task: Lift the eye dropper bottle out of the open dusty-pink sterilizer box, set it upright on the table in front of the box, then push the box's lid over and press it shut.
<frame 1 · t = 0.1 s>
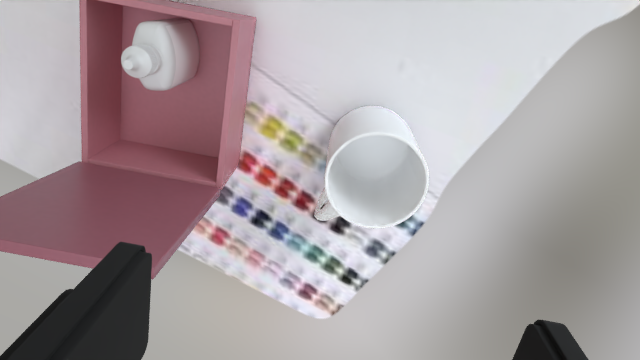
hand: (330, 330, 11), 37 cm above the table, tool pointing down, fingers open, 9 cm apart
eye dropper bottle: (183, 48, 45), resting on sterilizer
mug: (358, 154, 48), on the table
sterilizer lid: (108, 207, 34), point 15 cm above the table, hinge at 85.0°
sterilizer: (182, 83, 46), on the table
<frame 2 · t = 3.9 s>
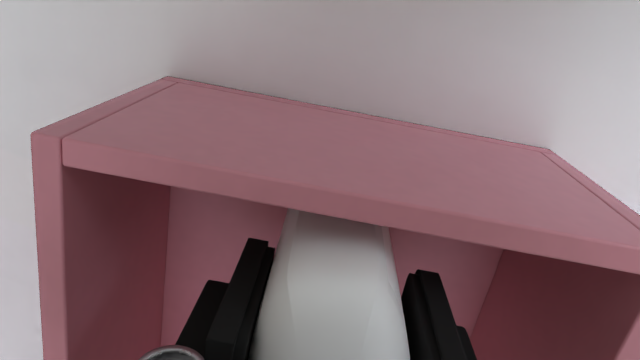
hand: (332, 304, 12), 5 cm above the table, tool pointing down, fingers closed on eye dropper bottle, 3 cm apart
eye dropper bottle: (336, 225, 17), resting on sterilizer, touching gripper
sterilizer: (319, 297, 18), on the table
when the fingers open (4 cm above the table, at t = 11.0 s): eye dropper bottle stays where it is, on the table.
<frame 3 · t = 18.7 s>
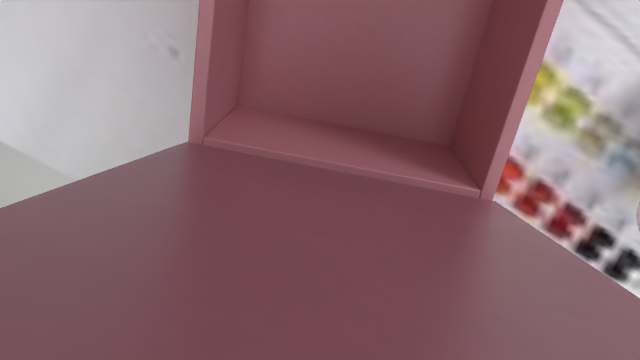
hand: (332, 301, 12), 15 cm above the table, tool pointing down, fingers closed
sterilizer lid: (346, 242, 11), point 15 cm above the table, hinge at 79.6°, touching gripper
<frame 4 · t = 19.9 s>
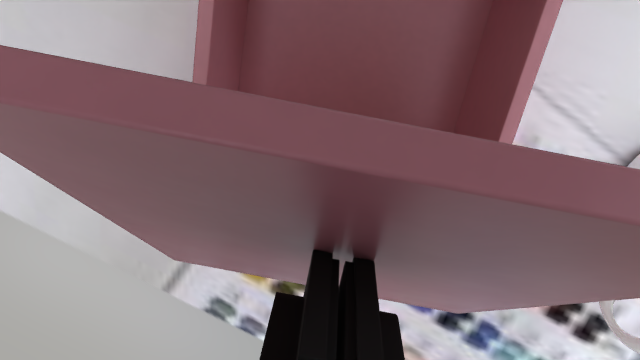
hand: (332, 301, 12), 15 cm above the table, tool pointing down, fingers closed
sterilizer lid: (337, 250, 13), point 14 cm above the table, hinge at 50.1°, touching gripper
sterilizer: (351, 85, 25), on the table
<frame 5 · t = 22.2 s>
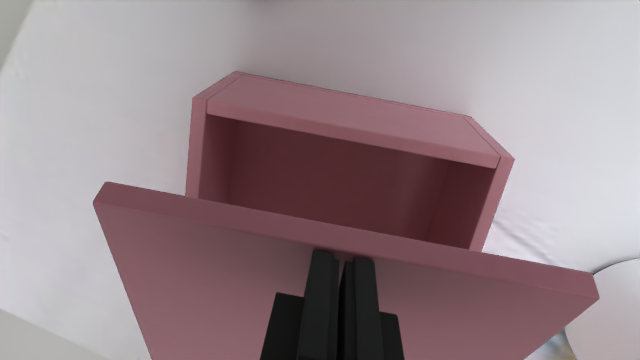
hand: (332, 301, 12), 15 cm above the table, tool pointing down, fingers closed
mug: (604, 324, 30), on the table
sterilizer lid: (312, 353, 18), point 11 cm above the table, hinge at 25.9°, touching gripper
sterilizer: (327, 216, 28), on the table
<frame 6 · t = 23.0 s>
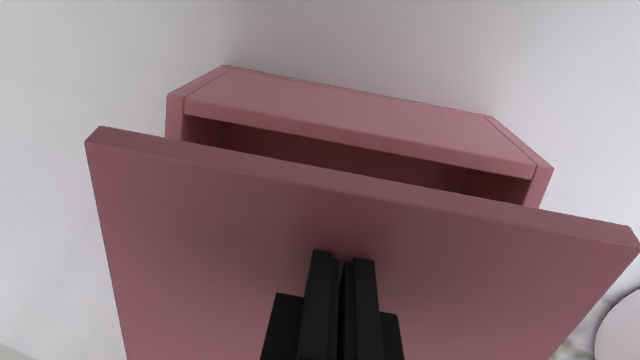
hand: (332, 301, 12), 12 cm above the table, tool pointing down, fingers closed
mug: (638, 348, 26), on the table
sterilizer: (329, 229, 25), on the table
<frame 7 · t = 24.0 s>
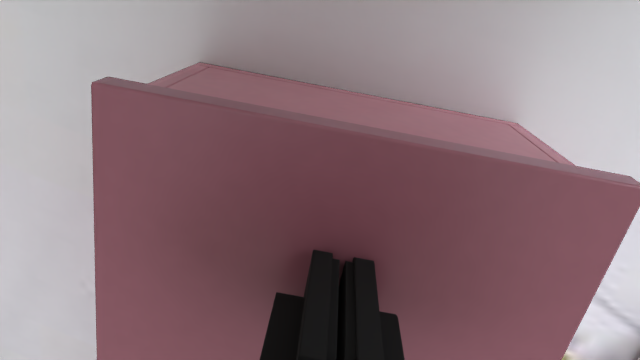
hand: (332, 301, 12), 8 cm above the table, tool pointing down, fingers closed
sterilizer: (325, 252, 21), on the table
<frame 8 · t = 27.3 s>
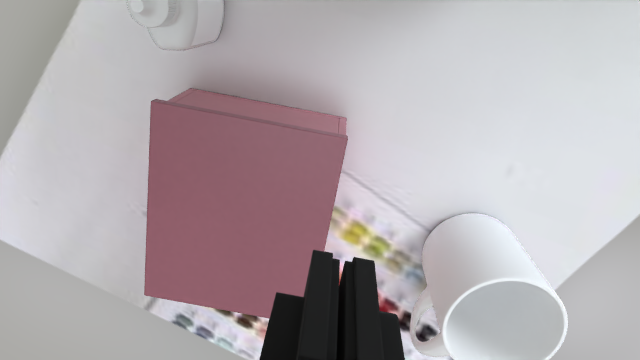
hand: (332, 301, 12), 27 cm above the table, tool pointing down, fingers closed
eye dropper bottle: (203, 4, 36), on the table
mug: (452, 261, 43), on the table
sterilizer lid: (238, 221, 33), point 8 cm above the table, hinge at 1.1°
sterilizer: (256, 185, 41), on the table
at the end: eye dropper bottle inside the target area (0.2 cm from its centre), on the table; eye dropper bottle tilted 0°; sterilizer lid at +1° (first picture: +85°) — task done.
